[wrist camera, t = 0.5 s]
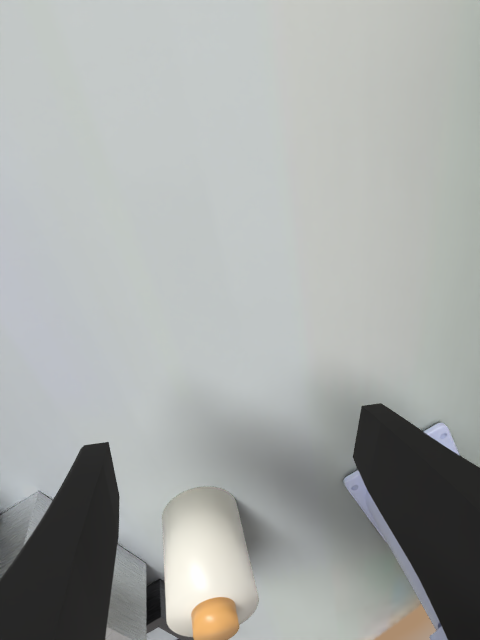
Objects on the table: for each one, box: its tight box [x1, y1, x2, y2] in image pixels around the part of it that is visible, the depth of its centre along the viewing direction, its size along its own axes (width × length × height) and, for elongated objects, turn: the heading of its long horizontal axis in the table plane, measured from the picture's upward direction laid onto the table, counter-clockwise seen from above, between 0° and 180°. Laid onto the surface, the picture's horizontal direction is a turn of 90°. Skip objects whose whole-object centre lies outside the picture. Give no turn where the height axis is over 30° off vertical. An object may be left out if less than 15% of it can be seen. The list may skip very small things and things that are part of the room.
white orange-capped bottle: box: [162, 487, 259, 640], centre depth 24 cm, size 5×5×7 cm
